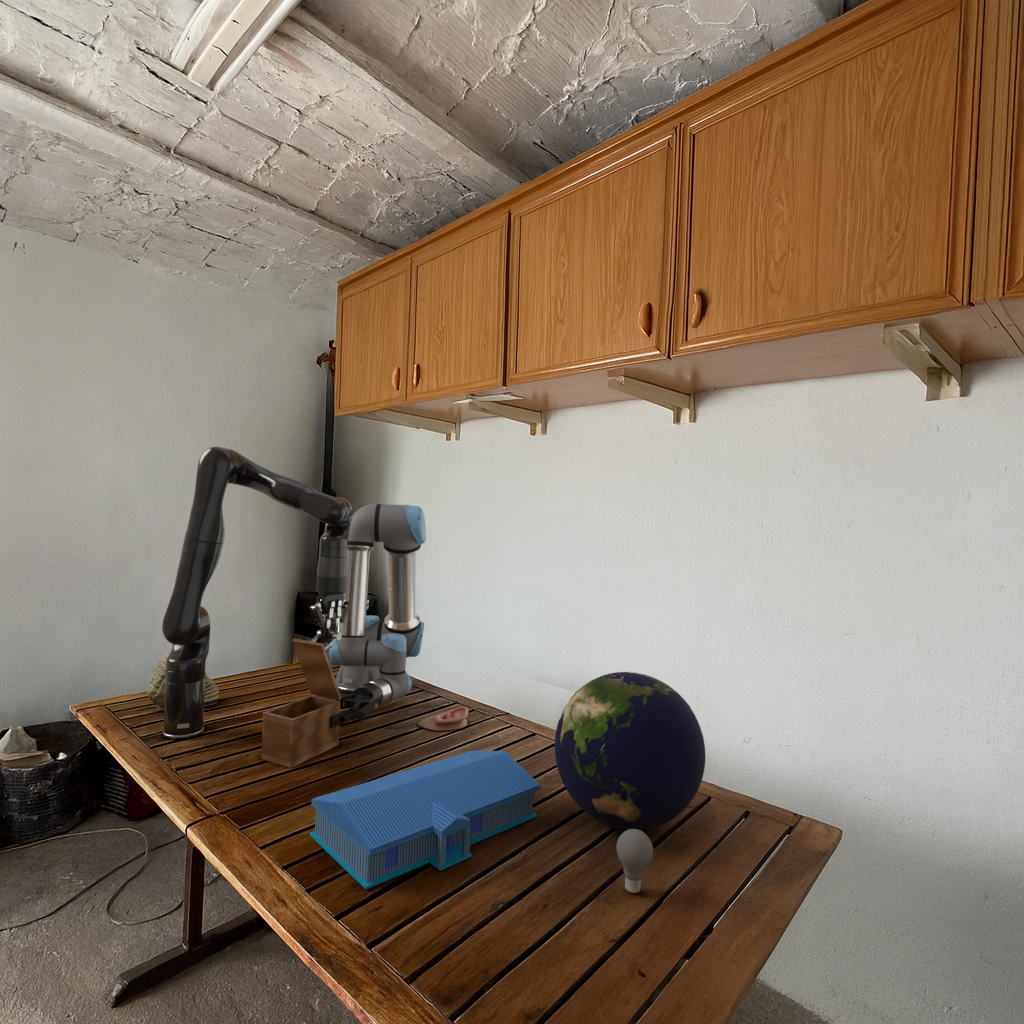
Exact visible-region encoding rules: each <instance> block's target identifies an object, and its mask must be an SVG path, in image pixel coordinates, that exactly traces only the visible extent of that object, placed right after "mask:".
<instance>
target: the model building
mask: <svg viewBox="0 0 1024 1024" xmlns="http://www.w3.org/2000/svg"><path fill="white" fill-rule="evenodd" d="M538 791H541V784H540V783H539V782H538V781H537V780H536V779H535V778H534V777H533V776H532V775H531V774H530V773H529V772H527V771H526V769H524V768H523V766H521V764H519V762H517V761H516V760H515V759H514V757H512V756H511V755H510V754H509V753H508V752H507V750H471V751H467V752H464V753H460V754H457V755H454V756H449V757H447V758H444V759H441V760H437V761H434V762H431V763H427V764H423V765H420V766H417V767H414V768H410V769H407V770H403V771H400V772H397V773H394V774H390V775H387V776H384V777H381V778H380V777H379V778H377V779H374V780H371V781H366V782H364V783H360V784H357V785H354V786H350V787H347V788H344V789H339V790H337V791H334V792H330V793H327V794H324V795H319V796H316V797H314V798H311V806H313V807H314V808H315V817H314V831H311V832H310V833H309V836H310V838H312V839H313V840H314V841H315V842H316V843H317V845H319V846H320V847H321V848H322V849H323V850H325V852H326V853H327V854H329V856H330V857H331V858H333V859H334V860H335V861H336V862H337V863H338V864H339V865H340V866H341V867H342V868H343V869H344V870H345V871H346V872H347V874H349V875H350V876H351V877H352V878H353V879H354V880H355V881H356V882H357V883H359V885H361V886H362V887H363V888H364V890H369V889H371V888H373V887H375V886H378V885H381V884H382V883H385V882H388V881H389V880H392V879H394V878H397V877H399V876H402V875H404V874H406V873H408V872H410V871H413V870H416V869H417V868H420V867H423V866H424V865H427V864H429V863H430V864H431V865H432V866H433V867H434V868H436V869H437V870H438V871H440V872H441V871H443V870H445V869H448V868H450V867H452V866H455V865H457V864H459V863H461V862H463V861H465V860H468V859H471V858H473V853H471V852H470V851H471V846H472V845H474V844H476V843H478V842H482V841H484V840H486V839H488V838H490V837H493V836H495V835H497V834H499V833H502V832H505V831H506V830H507V831H508V830H510V829H512V828H513V827H516V826H519V825H520V824H523V823H525V822H527V821H530V820H532V819H535V818H537V817H538V814H537V813H535V812H534V798H535V797H534V796H535V792H538Z"/></svg>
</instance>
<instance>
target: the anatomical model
mask: <svg viewBox="0 0 1024 1024" xmlns="http://www.w3.org/2000/svg"><path fill="white" fill-rule="evenodd" d="M468 715H469V709H468V707H466V706H461V707H460V706H459V707H456V708H453V709H449V710H447V711H444V712H441V713H439V714H436V715H431V716H428V717H426V718H424V719H421V720H420V721H419V722H418V723H417V725H418V726H419V727H421V728H424V729H427V730H430V731H437V732H439V731H440V732H441V731H453V730H460V729H462V728H465V727H466V726H468V720H467V718H468Z"/></svg>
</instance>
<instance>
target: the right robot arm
mask: <svg viewBox="0 0 1024 1024" xmlns="http://www.w3.org/2000/svg"><path fill="white" fill-rule="evenodd" d="M426 529H427V528H426V519H425V512H424V510H423V509H422V507H420V506H418V505H410V504H386V503H385V504H384V503H369V504H366V505H363V506H361V507H360V508H359V509H358V510H356V511H355V512H354V513H352V522H351V527H350V532H349V536H348V551H347V563H348V571H347V590H346V592H345V593H343V595H344V599H345V600H346V601H350V602H351V605H350V608H349V610H348V613H347V615H346V618H345V621H344V622H343V623H340V625H339V626H338V633H341V635H342V637H341V640H340V641H335V642H334V643H333V644H332V645H331V646H330V647H329V653H328V654H329V655H328V659H329V662H330V664H331V665H334V666H340V667H339V669H338V671H337V675H336V677H335V680H336V683H337V686H338V689H339V692H340V695H341V700H340V710H343V711H340V713H338V714H336V715H333V716H331V717H330V728H333V727H336V726H338V725H339V726H340V725H342V724H345V723H347V722H350V721H356V720H357V721H358V722H362V721H363V720H365V719H366V718H367V717H368V716H370V715H371V714H372V713H374V712H376V711H378V710H379V708H380V707H381V706H384V705H386V704H390V703H391V702H393V701H396V700H400V699H401V698H403V697H404V696H406V695H407V694H409V693H410V691H411V690H412V686H413V681H412V679H411V675H410V674H409V673H408V672H407V671H406V665H407V658H415V657H418V656H419V655H420V653H421V649H422V643H423V637H424V630H425V622H423V621H421V618H420V616H419V614H417V612H416V604H417V603H416V598H417V597H416V595H417V594H416V591H417V584H416V583H417V571H416V570H417V552H418V551H420V550H421V548H422V545H423V544H425V543H426V540H427V532H426V531H427V530H426ZM375 543H383V549H384V551H385V552H387V553H388V559H387V560H388V614H386V616H385V617H384V619H383V620H380V618H379V617H380V616H378V615H373V614H371V615H370V614H369V615H367V602H368V587H369V572H370V556H371V555H370V554H371V552H372V551H373V550H374V548H375V547H374V546H375V545H374V544H375ZM341 616H342V614H341ZM340 618H341V617H340ZM343 693H345V694H343ZM323 698H326V697H323ZM327 699H330V698H327ZM331 700H335V699H331ZM336 701H339V700H336Z"/></svg>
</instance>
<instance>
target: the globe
mask: <svg viewBox="0 0 1024 1024" xmlns="http://www.w3.org/2000/svg"><path fill="white" fill-rule="evenodd" d="M562 709H563V710H562V711H561V714H560V716H559V718H558V721H557V724H556V725H557V726H556V728H555V729H556V730H555V734H554V735H555V736H554V756H555V762H556V768H557V772H558V775H559V777H560V780H561V781H562V784H563V786H564V788H565V790H566V791H567V793H568V794H569V796H570V797H571V798H572V800H573V801H574V802H575V803H576V804H577V805H578V807H579V808H580V809H582V810H583V811H584V812H585V813H586V814H587V815H589V816H590V817H591V818H593V819H595V820H596V821H598V822H600V823H602V824H604V825H606V826H608V827H611V828H615V829H618V830H624V831H627V830H629V829H637V830H640V831H645V830H652V829H655V828H658V827H661V826H663V825H665V824H667V823H670V822H671V821H673V820H675V818H677V817H678V816H679V815H681V814H682V813H683V812H684V811H685V810H686V809H687V807H688V806H689V805H690V804H691V803H692V801H693V800H694V798H695V796H696V794H697V793H698V791H699V788H700V786H701V784H702V781H703V778H704V773H705V767H706V744H705V739H704V734H703V731H702V728H701V725H700V723H699V721H698V719H697V716H696V714H695V712H694V711H693V709H692V708H691V706H690V704H689V703H688V702H687V701H686V700H685V698H684V697H683V696H682V695H681V694H680V693H678V691H676V690H675V689H673V687H671V686H670V685H669V684H667V683H665V682H664V681H662V680H660V679H658V678H655V677H653V676H651V675H648V674H645V673H640V672H636V671H618V672H617V671H616V672H611V673H607V674H603V675H600V676H598V677H596V678H593V679H591V680H589V681H588V682H587V683H585V684H584V685H582V686H581V687H580V688H578V689H577V690H576V691H575V692H574V693H573V695H572V696H571V697H570V698H569V700H568V701H567V703H566V704H565V706H564V708H562Z"/></svg>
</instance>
